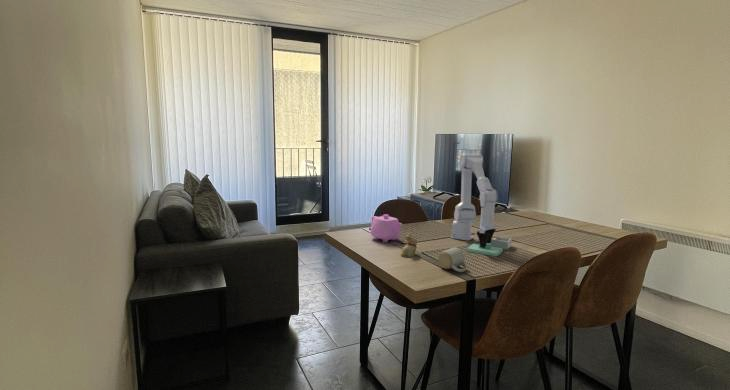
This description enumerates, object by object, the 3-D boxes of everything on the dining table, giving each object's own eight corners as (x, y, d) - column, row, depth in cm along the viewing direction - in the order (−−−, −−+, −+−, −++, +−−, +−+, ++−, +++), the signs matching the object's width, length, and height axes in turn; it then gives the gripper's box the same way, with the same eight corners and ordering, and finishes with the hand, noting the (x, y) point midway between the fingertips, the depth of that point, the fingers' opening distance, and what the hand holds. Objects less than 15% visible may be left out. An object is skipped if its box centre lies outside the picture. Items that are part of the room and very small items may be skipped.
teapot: (363, 237, 200) (363, 213, 199) (380, 233, 209) (381, 210, 207) (391, 246, 186) (392, 219, 184) (408, 241, 194) (409, 216, 192)
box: (481, 246, 189) (481, 237, 189) (486, 242, 196) (486, 234, 195) (507, 250, 183) (507, 242, 182) (511, 246, 189) (511, 238, 189)
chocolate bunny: (419, 256, 171) (420, 233, 169) (402, 256, 169) (402, 234, 168) (415, 252, 176) (416, 230, 175) (398, 253, 175) (399, 231, 173)
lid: (466, 251, 180) (467, 243, 180) (473, 246, 188) (473, 238, 188) (497, 256, 173) (497, 248, 172) (502, 251, 181) (503, 243, 180)
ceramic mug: (436, 266, 157) (437, 248, 156) (449, 263, 162) (450, 245, 161) (457, 274, 149) (459, 255, 148) (470, 270, 154) (472, 251, 153)
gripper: (491, 220, 170) (489, 250, 172) (500, 215, 182) (498, 243, 184) (475, 218, 174) (473, 247, 176) (485, 213, 186) (483, 241, 188)
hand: (485, 245), depth 180 cm, fingers open, 7 cm apart
